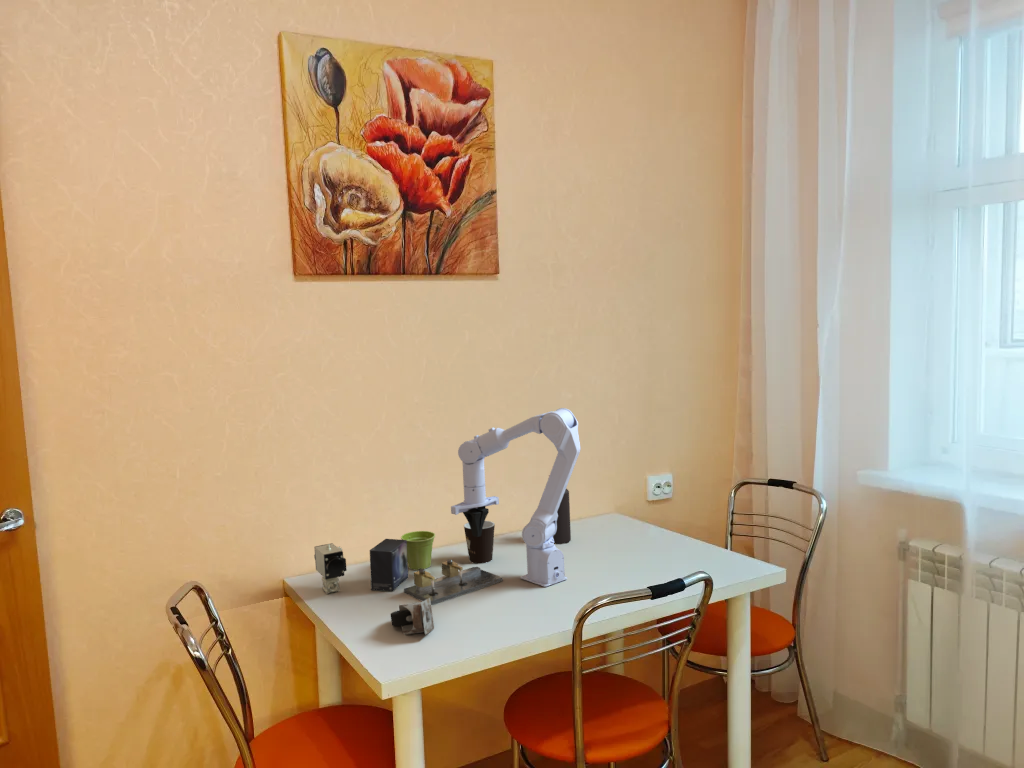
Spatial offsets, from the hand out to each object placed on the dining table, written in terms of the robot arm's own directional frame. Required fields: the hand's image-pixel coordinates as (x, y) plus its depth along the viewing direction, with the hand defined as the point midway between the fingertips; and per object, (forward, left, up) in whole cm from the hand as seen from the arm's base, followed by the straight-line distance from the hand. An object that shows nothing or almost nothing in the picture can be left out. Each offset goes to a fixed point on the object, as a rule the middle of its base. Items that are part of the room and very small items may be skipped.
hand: (476, 535), depth 196 cm
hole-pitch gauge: (-4, +11, -10) cm, 15 cm away
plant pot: (+16, +8, -10) cm, 21 cm away
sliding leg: (-4, +11, -8) cm, 14 cm away
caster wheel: (-18, +33, -10) cm, 39 cm away
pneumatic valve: (+17, +34, -10) cm, 39 cm away
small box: (+10, +21, -10) cm, 25 cm away
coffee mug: (+9, -8, -10) cm, 16 cm away
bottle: (+4, -34, -10) cm, 36 cm away
